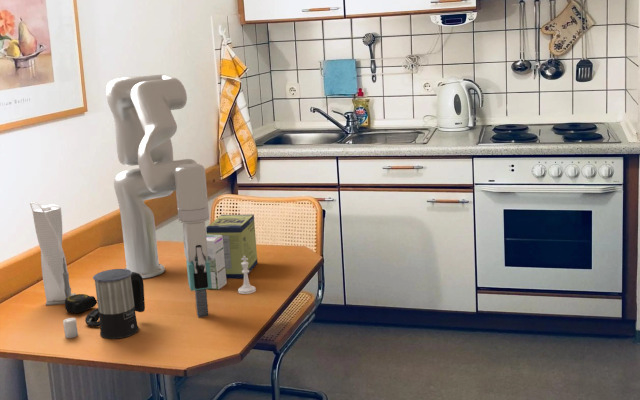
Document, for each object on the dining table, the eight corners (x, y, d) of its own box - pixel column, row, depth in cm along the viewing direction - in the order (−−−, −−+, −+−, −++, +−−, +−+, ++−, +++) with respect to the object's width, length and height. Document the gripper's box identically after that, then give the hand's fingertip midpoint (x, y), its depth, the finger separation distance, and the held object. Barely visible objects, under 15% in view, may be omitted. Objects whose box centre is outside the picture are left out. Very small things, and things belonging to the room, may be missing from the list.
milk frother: (129, 340, 193) (122, 280, 190) (67, 339, 196) (60, 280, 193) (152, 318, 206) (146, 262, 203) (94, 317, 209) (87, 262, 206)
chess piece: (253, 294, 220) (250, 258, 218) (235, 293, 221) (232, 258, 219) (258, 288, 225) (255, 253, 223) (241, 288, 226) (238, 253, 224)
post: (197, 314, 208) (194, 288, 206) (207, 312, 208) (204, 286, 207) (198, 317, 205) (195, 291, 204) (208, 316, 206) (206, 289, 204)
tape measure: (77, 317, 211) (76, 303, 210) (60, 313, 215) (58, 299, 214) (98, 308, 216) (96, 295, 216) (80, 304, 220) (79, 291, 219)
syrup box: (227, 283, 231) (223, 234, 228) (218, 290, 225) (213, 239, 222) (209, 282, 233) (204, 233, 229) (199, 289, 227) (195, 239, 224)
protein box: (258, 263, 249) (254, 213, 245) (244, 279, 234) (240, 226, 230) (225, 263, 251) (221, 214, 247) (209, 279, 236) (205, 227, 232)
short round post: (65, 334, 199) (63, 319, 198) (78, 332, 199) (76, 317, 199) (65, 338, 196) (62, 323, 195) (77, 337, 197) (75, 321, 196)
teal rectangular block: (188, 284, 207) (186, 259, 205) (209, 281, 208) (206, 257, 207) (191, 290, 202) (188, 265, 200) (211, 288, 203) (209, 262, 202)
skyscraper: (40, 306, 220) (26, 205, 214) (45, 296, 228) (32, 199, 222) (72, 302, 222) (59, 202, 216) (76, 293, 229) (63, 196, 223)
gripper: (174, 208, 208) (181, 276, 212) (182, 223, 192) (189, 297, 196) (204, 205, 210) (210, 273, 214) (213, 220, 194) (220, 292, 198)
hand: (199, 283), depth 205 cm, fingers closed on teal rectangular block, 5 cm apart
